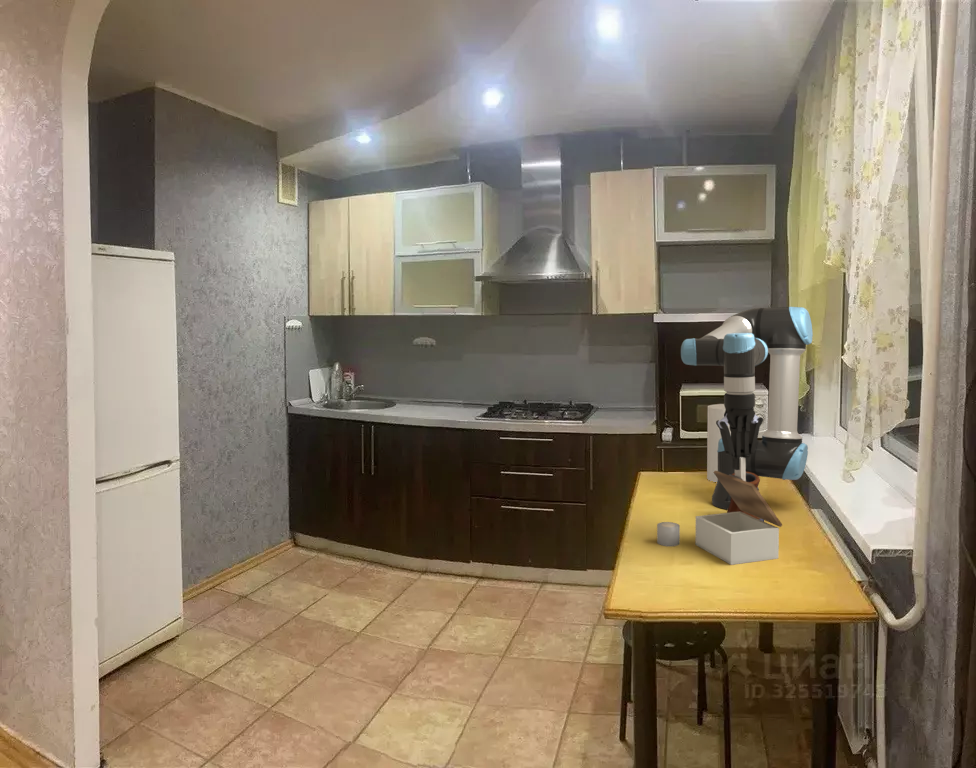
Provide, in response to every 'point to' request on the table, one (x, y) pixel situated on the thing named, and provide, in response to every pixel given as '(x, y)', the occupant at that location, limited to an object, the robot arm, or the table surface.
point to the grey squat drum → (668, 534)
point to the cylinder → (713, 439)
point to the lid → (747, 497)
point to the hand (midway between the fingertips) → (740, 481)
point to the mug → (751, 479)
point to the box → (737, 537)
